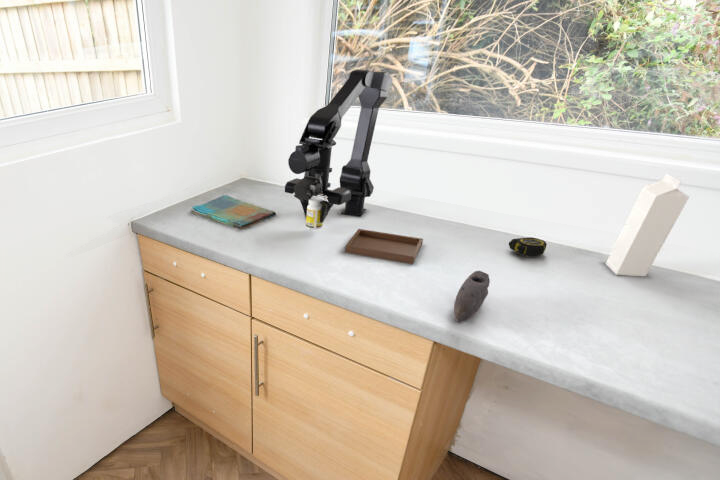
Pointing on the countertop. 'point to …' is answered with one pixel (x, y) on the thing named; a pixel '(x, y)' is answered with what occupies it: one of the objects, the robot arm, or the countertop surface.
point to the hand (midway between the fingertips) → (314, 220)
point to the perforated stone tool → (471, 295)
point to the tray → (384, 246)
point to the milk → (647, 227)
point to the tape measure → (528, 246)
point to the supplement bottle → (314, 213)
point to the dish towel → (232, 212)
